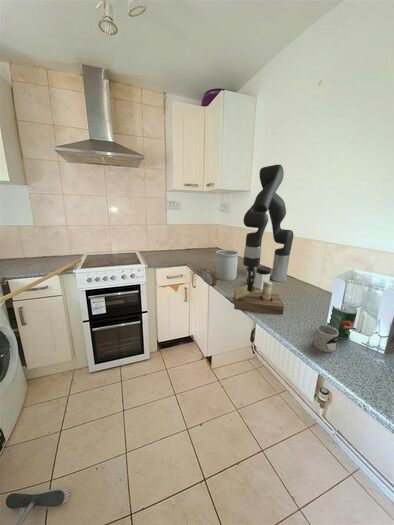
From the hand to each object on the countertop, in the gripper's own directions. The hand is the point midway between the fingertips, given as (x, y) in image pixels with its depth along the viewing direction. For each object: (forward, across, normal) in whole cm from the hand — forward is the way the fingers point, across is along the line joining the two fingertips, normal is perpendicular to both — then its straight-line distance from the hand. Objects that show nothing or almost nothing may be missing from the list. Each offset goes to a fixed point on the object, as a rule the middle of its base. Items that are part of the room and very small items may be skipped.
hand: (248, 287), depth 106 cm
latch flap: (+2, 0, -1) cm, 3 cm away
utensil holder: (+9, -38, -12) cm, 41 cm away
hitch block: (+9, 0, +5) cm, 10 cm away
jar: (+9, -25, +10) cm, 28 cm away
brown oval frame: (+9, -24, -22) cm, 34 cm away
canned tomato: (+9, +18, +35) cm, 40 cm away
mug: (+9, +27, +27) cm, 39 cm away
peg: (+9, 0, +9) cm, 12 cm away
